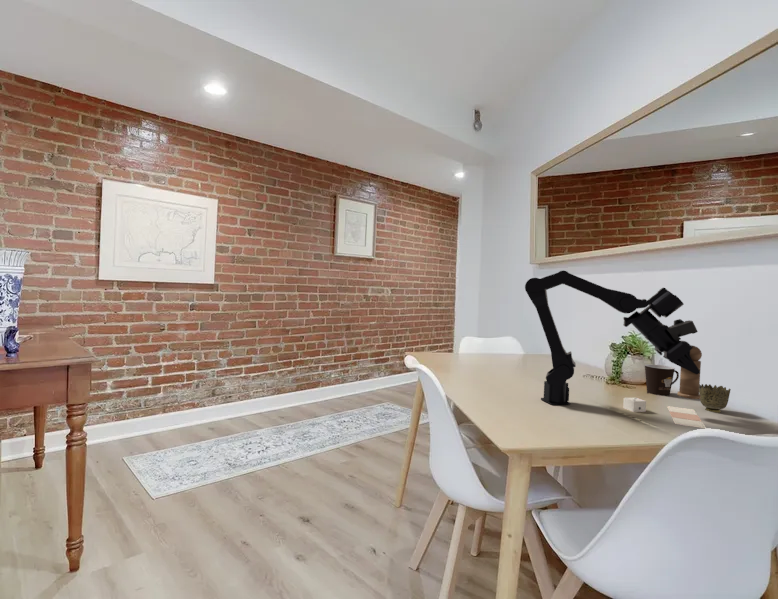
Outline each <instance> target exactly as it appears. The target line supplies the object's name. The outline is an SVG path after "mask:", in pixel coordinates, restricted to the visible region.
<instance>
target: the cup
mask: <svg viewBox="0 0 778 599" xmlns="http://www.w3.org/2000/svg"><path fill="white" fill-rule="evenodd" d="M730 393H731V388H728V389H727V387H726V386H725V387H724V386H723V385H719V386H717V384H715V385H713V386H712V385H711V384H707V383H706V384H703V383H701V384H700V385H699V394H700V395H701V398H700V399H699V401H700V404H702V406H703V407H704V408H705V409H704V410H705V411H707V412H712V413H721V412H722V411H721V410H723V409H725V408H726V407H727V406H728V403H729V400H730V399H729V398H730Z"/></svg>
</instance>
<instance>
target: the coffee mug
mask: <svg viewBox="0 0 778 599" xmlns="http://www.w3.org/2000/svg"><path fill="white" fill-rule="evenodd" d="M644 372H645V383H646V394H651V395H653V396H654V395H656V396H666V397H667V396H668V397H669V396H670V395H671V392H672V385H674V384H675V383H676V382H677V381H678V379H679V378H680V375H679V374H680V373H679V371H677V370H676V368H675V367H674V366H668V365H663V364H662V365H661V364H651V363H650V364H649V363H648V364H644ZM675 374H676V377H675V379H674V375H675Z"/></svg>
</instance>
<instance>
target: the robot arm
mask: <svg viewBox="0 0 778 599" xmlns="http://www.w3.org/2000/svg"><path fill="white" fill-rule="evenodd" d="M560 285H565V286H567V287H570V288H572V289H575V290H576V291H578V292H582V293H585V294H586V295H589V296H591V297H594V298H596V299H598V300H600V301H602V302H603V303H605V304H607V305H608V306H609V307H611V308H613V309H614V310H616V311H618V312H620V313H623V314H630V313H631V315H629V316H628V317H625V316H624V317H622V319H623V326H624V327H626V328H627V327H629V326H630V325H632V326H633V327H634V328H635V329H636V330H637V331H638V332H639V333H640V334H641V335H642V336H644V338H645V339H646V340H647V341H648V342H649V343H650V344H652V346H654V350H655V352H657V354H659V355H660V356H662V355H663V356H662V357H663V358H664V359H666V360H668V361H669V362H670V363H671V364H675V365H676V366H678V367H680V368H681V367H682V368H684V369H686V370H689V371H691V372H693V373H695V374H699V373H700V374H701V370H700V371H699V369H698V368H697V366H696V365H695V363H694V362H693V360H692V358H691V357H690V350H691V349H692V348H693V347H692V346H693V345H692V346H691V344H690V343H689V342H688V341H686V340H682V338H681V337H685V336H688V335H690V334H696V333H698V329H697V327H696V325H695V323H694V321H693V320H689V319H688V320H685V321H684V320H682V319H680V318H679V319H675V320H674V321H673V324H672V325H671V326H669V325H667V324H663V323H662V322H661V320H659V319H658V318H662V317H664V318H668V317H670V316H671V315H672V314H673V313H675V312H676V311H677V310H678V309H680V308H681V307H683V305H684V302H683V301H682V300H681V299H680V298H679V297H678V296H677V295H676V294H673V293H672V292H671V291H669V290H668V289H667V288H665V287H662V288H661V287H660V289H659V290H657V292H656V293H655V294H653V295H652V296H651V297H650V298H649V299H646V298H642V299H640V298H637V297H636V296H635V295H633V294H632V293H628V292H624V291H620V290H617V289H616V290H615V289H610V288H607V287H605V286H601V285H599V284H597V283H595V282H591V281H589V280H586V279H584V278H582V277H579V276H577V275H574V274H572V273H570V272H568V271H567V270H560V271H558V272H556V273H553V274H550V275H547V276H544V277H541V278H539V277H532V278H530V279H527V281H526V282H525V285H524V289H525V292H526V293H527V296H528V298H529V299H530V301H531V302H532V304H533V306H534V307H535V310H536V312H537V315H538V317H539V320H540V324H541V326H542V328H543V329H542V330H543V332H544V336H545V339H546V340H547V344H548V347H549V349H550V350H549V351H550V354H551V363H552V368H551V369H550V370H549V371H547V373H546V375H545V379H546V380H544V382H543V397H540V400H541V401H543V402H545V403H547V404H549V405H552V406H554V405H556V406H557V405H562V406H564V405H565V406H566V405H569V406H570V405H571V403H572V402H570V387H569V382H567V380H570V379H571V378H573V376H574V374H575V368H576V362H575V361H574V359H573V356H572V351H568V352H567V351H566V349H565V348H564V346H563V343H562V340H561V337H560V334H559V332H558V329H557V325H556V322H555V320H554V317H553V314H552V311H551V308H550V305H549V300H548V292H547V290H549V289H552V288H555V287H558V286H560ZM637 309H643V310H641V311H640V312H639V311H637ZM652 313H653V314H652ZM656 316H657V317H658V318H657V317H656Z"/></svg>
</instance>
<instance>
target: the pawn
mask: <svg viewBox="0 0 778 599" xmlns="http://www.w3.org/2000/svg"><path fill="white" fill-rule="evenodd" d="M690 345H691V344H690ZM691 346H692V347H693V348H692V349H691V350H690V357H691V358H692V360H693V362H694V363H695V365H696V366H697V368H698V369H699V371H700V373H699V374H695V373H693V372H691V371H689V370H686V369H684V368H682V367H680V373H679V374H680V375H679V389H678V391H677V396H678V397H681V398H686V399H693V400H700V398H701V395H700V394H699V385H701V384H700V383H701V382H700V381H701V366H702V365H701V364H702V361H701V359H702V356H703V354H702V351H701V350H700V348H699V347H698V346H695V345H691Z"/></svg>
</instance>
